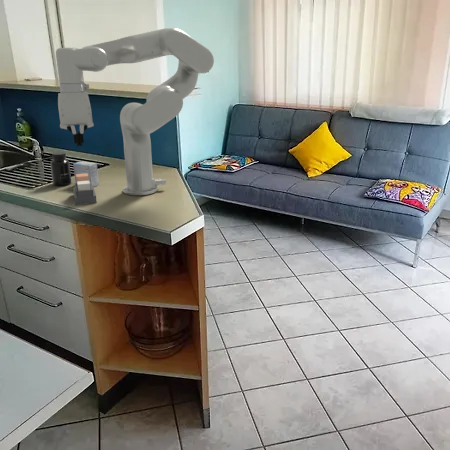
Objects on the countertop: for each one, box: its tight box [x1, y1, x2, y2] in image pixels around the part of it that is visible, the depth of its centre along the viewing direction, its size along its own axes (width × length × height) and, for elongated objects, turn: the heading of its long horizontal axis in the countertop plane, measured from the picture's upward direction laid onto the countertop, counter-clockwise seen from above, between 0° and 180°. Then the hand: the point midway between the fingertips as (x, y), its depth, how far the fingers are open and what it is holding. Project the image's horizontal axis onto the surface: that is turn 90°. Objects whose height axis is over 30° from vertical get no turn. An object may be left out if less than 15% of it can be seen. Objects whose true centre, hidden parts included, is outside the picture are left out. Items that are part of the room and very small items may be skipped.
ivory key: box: [77, 180, 91, 191], centre depth 161 cm, size 4×4×3 cm
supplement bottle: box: [50, 151, 72, 187], centre depth 181 cm, size 7×7×12 cm
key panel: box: [72, 182, 98, 206], centre depth 165 cm, size 7×12×4 cm, turn 19°
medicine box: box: [73, 161, 100, 188], centre depth 180 cm, size 8×4×9 cm, turn 66°
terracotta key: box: [76, 173, 89, 181], centre depth 166 cm, size 4×4×3 cm
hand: (79, 145), depth 158 cm, fingers closed
